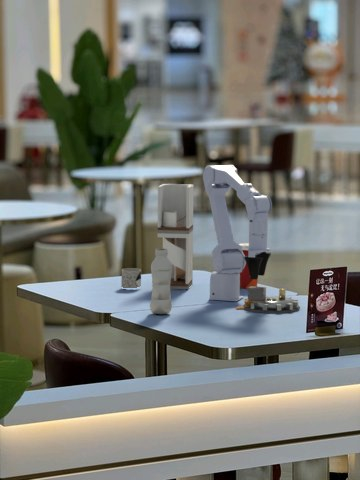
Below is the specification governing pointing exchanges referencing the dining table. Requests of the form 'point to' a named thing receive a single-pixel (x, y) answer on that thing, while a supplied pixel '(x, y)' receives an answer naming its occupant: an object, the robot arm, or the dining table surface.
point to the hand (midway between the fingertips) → (257, 277)
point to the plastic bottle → (161, 282)
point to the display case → (177, 230)
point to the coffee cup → (246, 271)
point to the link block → (256, 293)
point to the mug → (131, 278)
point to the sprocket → (274, 302)
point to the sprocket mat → (268, 310)
